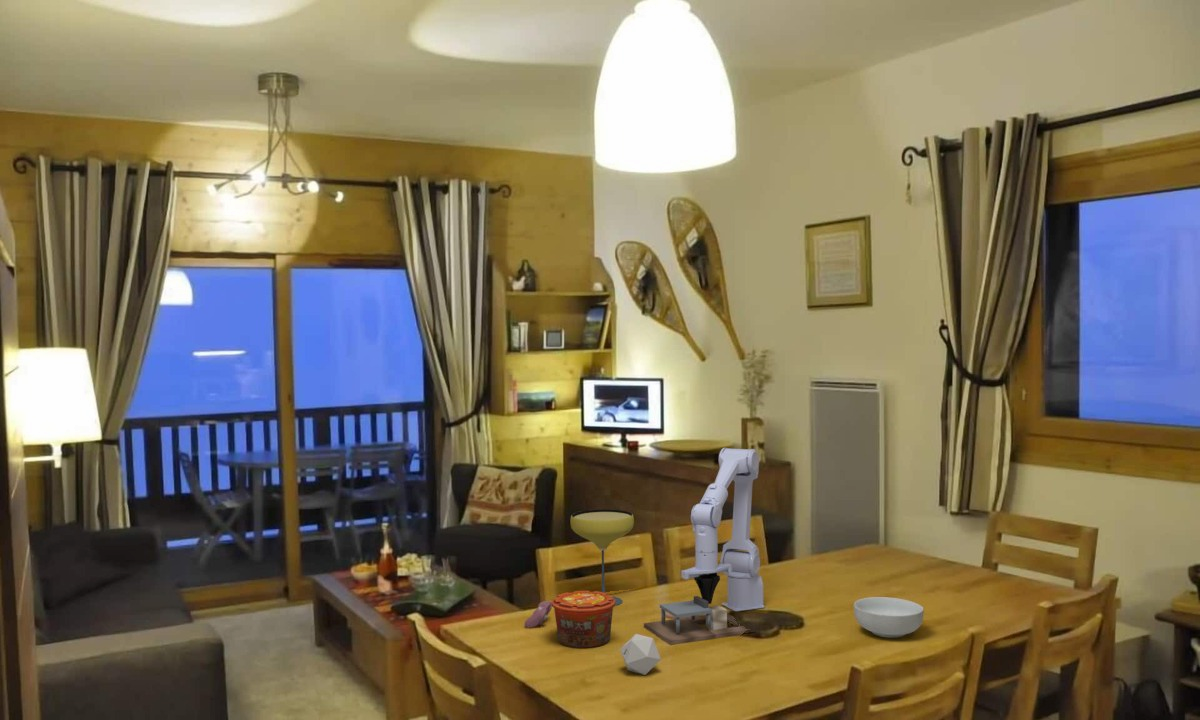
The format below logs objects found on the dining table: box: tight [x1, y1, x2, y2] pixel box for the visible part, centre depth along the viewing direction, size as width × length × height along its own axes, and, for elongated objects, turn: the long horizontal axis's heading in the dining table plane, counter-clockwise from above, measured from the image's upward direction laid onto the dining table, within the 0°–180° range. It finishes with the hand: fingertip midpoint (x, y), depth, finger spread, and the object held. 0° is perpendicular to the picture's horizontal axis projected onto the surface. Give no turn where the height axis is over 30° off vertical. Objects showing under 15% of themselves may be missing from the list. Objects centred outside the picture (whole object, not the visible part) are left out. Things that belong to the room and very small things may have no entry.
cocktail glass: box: [569, 508, 635, 607], centre depth 279 cm, size 18×18×25 cm
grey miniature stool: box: [659, 595, 712, 633], centre depth 250 cm, size 10×10×6 cm
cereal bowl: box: [853, 596, 925, 639], centre depth 246 cm, size 17×17×7 cm
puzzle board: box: [643, 612, 750, 646], centre depth 251 cm, size 24×16×1 cm, turn 111°
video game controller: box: [524, 600, 553, 629], centre depth 259 cm, size 10×5×7 cm, turn 169°
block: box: [705, 605, 728, 630], centre depth 253 cm, size 4×4×5 cm
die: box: [619, 633, 662, 676], centre depth 221 cm, size 8×9×10 cm
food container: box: [551, 590, 616, 649], centre depth 244 cm, size 16×16×11 cm
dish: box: [665, 611, 699, 619], centre depth 266 cm, size 10×10×1 cm
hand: (707, 603), depth 252 cm, fingers closed
